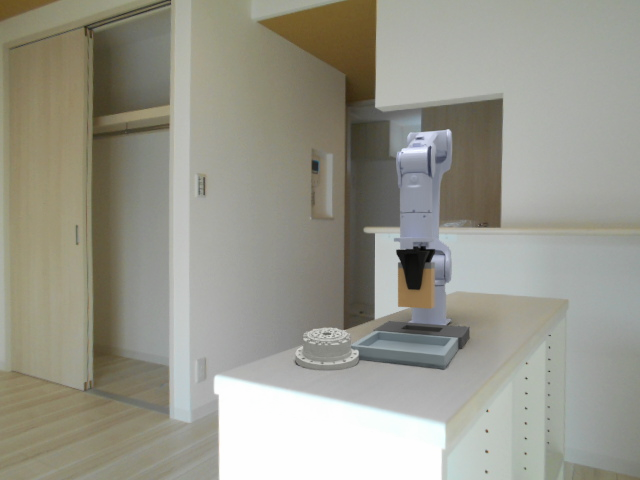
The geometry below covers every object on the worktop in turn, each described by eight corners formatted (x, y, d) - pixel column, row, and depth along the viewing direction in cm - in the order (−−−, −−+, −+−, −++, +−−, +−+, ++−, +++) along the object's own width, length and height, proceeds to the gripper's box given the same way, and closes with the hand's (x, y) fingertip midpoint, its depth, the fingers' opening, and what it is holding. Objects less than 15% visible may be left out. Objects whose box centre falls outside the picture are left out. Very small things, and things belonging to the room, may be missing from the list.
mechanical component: (288, 371, 68) (355, 376, 66) (288, 343, 67) (355, 346, 66) (303, 348, 78) (361, 351, 76) (302, 322, 77) (361, 325, 75)
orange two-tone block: (402, 304, 85) (402, 261, 85) (434, 306, 83) (434, 262, 83) (398, 306, 83) (397, 262, 83) (431, 308, 80) (431, 263, 80)
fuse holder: (389, 330, 95) (389, 320, 95) (469, 337, 88) (469, 327, 88) (373, 340, 86) (373, 329, 86) (461, 348, 79) (461, 337, 79)
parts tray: (375, 341, 85) (375, 330, 85) (458, 349, 79) (458, 337, 79) (349, 358, 73) (349, 345, 73) (444, 369, 67) (444, 355, 67)
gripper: (404, 216, 91) (405, 284, 91) (382, 212, 78) (383, 291, 78) (440, 215, 88) (441, 285, 88) (424, 210, 75) (424, 293, 75)
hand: (416, 288), depth 83 cm, fingers closed on orange two-tone block, 3 cm apart
